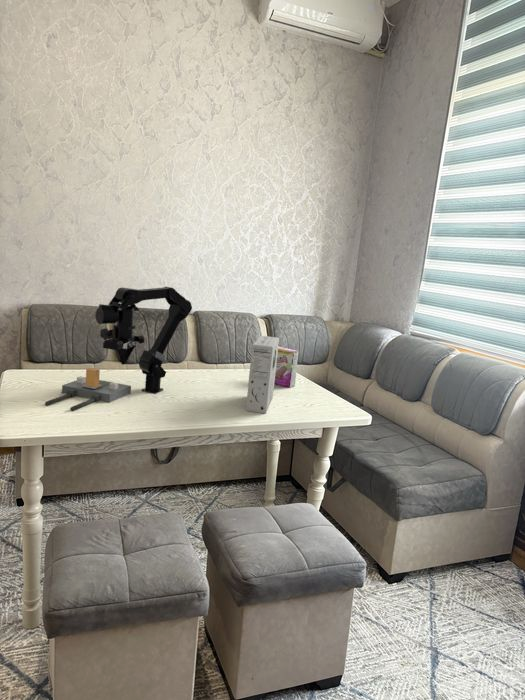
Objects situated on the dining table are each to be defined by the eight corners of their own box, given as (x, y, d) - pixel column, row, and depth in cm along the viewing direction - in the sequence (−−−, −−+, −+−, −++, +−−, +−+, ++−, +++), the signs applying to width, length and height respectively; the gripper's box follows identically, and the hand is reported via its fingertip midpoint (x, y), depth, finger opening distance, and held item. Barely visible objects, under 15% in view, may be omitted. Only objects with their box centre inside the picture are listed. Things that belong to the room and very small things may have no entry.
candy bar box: (268, 382, 229) (272, 347, 226) (274, 381, 233) (277, 346, 230) (289, 388, 224) (293, 351, 220) (295, 386, 228) (299, 350, 225)
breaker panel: (85, 384, 199) (85, 372, 198) (130, 393, 194) (131, 380, 193) (58, 394, 184) (58, 381, 183) (106, 404, 178) (107, 390, 177)
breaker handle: (90, 383, 189) (91, 367, 188) (102, 385, 188) (102, 369, 186) (82, 386, 184) (82, 369, 183) (94, 388, 183) (94, 371, 182)
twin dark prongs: (73, 394, 185) (73, 391, 185) (100, 400, 182) (100, 396, 182) (43, 405, 171) (44, 401, 170) (72, 411, 168) (73, 407, 167)
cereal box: (254, 395, 207) (260, 335, 203) (272, 397, 206) (279, 337, 202) (245, 410, 186) (252, 344, 181) (266, 413, 185) (273, 346, 181)
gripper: (120, 317, 196) (118, 356, 199) (90, 322, 178) (89, 365, 181) (145, 321, 193) (143, 361, 196) (117, 326, 175) (116, 370, 178)
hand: (123, 364), depth 188 cm, fingers closed
